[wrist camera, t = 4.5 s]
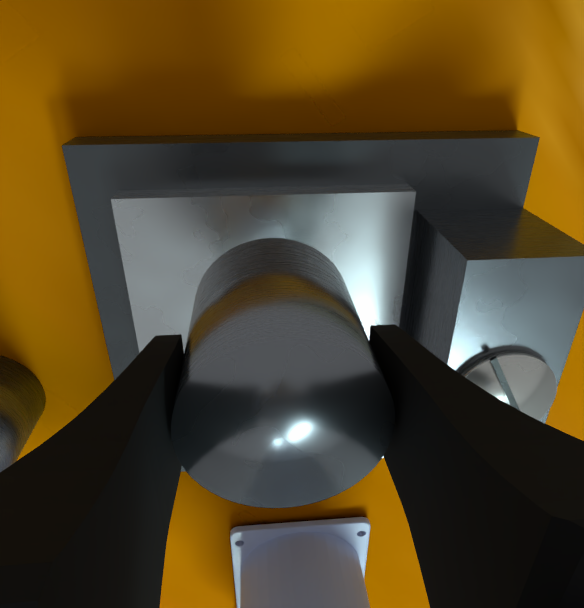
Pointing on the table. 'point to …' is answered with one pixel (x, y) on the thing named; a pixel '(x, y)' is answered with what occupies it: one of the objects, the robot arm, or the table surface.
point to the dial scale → (342, 239)
